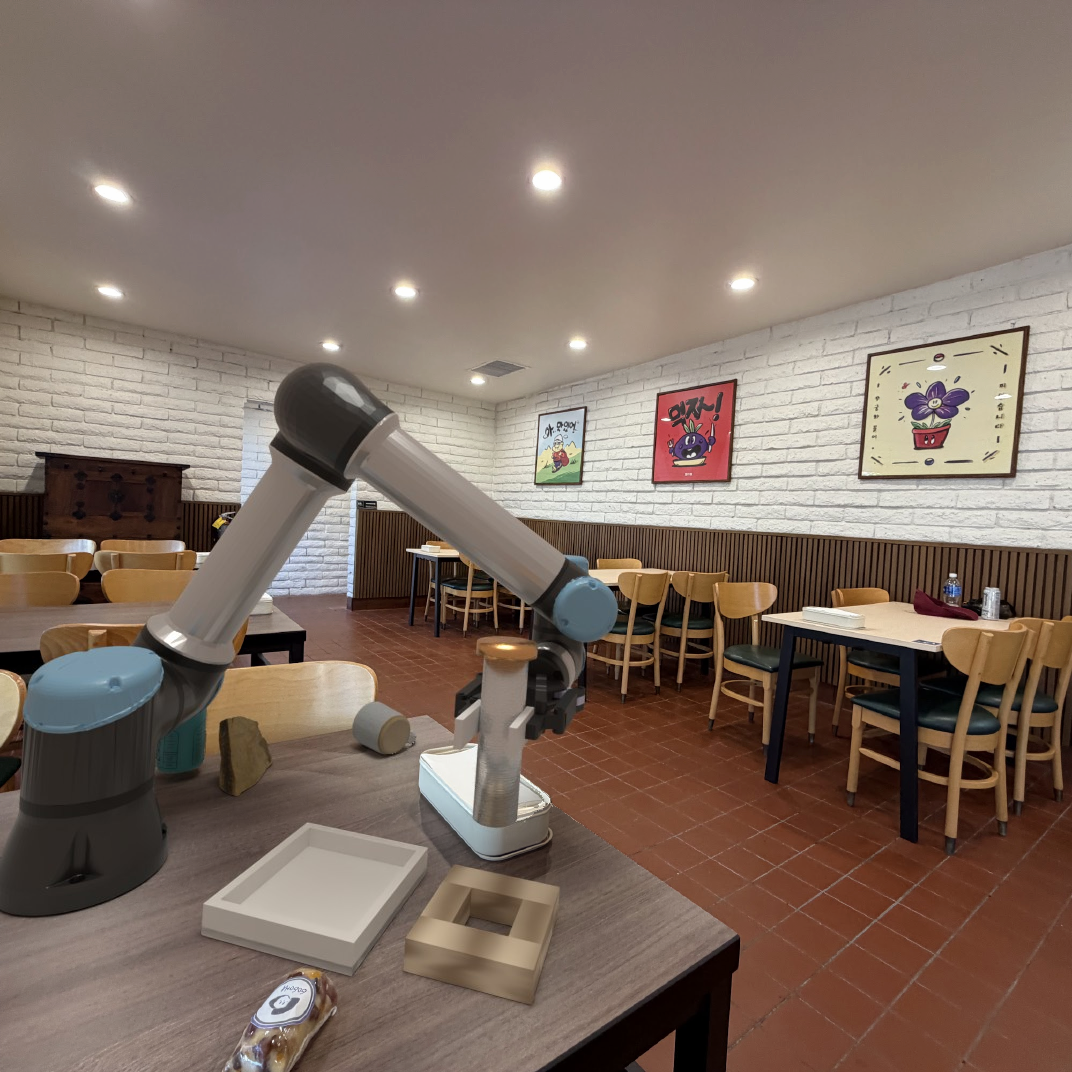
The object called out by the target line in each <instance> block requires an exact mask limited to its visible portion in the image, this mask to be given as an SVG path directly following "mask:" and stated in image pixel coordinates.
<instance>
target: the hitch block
mask: <svg viewBox="0 0 1072 1072" xmlns="http://www.w3.org/2000/svg"><path fill="white" fill-rule="evenodd" d="M560 888H561V887H560V886H557V885H553V884H547V883H542V882H538V881H533V880H530V879H529V880H528V879H524V878H520V877H514V876H510V875H505V874H501V873H496V872H492V871H488V870H483V869H477V868H473V867H470V866H469V867H468V866H463V865H461V864H460V865H459V864H453V865H452V867H451V869H450V870H449V872H448V873H447V874H446V876H445V878H444V879H443V881H442V882H441V883H440V885H439V886H438V888H437V890H436V891H435V893H434V894H433V896H432V897H431V899H430V900H429V902H428V903H427V905H426V906H425V908H424V909H423V911H422V912H421V914H420V915H419V917H418V918H417V920H416V921H415V923H414V924H413V926H412V927H411V929H410V931H408V933H407V935H406V937H405V941H404V953H403V965H402V966H403V969H402V971H403V972H406V973H410V974H412V975H413V974H414V975H418V976H421V977H425V978H429V979H433V980H437V981H440V982H444V983H447V984H450V985H451V984H452V985H455V986H458V987H463V988H466V989H470V990H473V991H478V992H480V993H485V994H490V995H492V996H495V997H496V996H497V997H500V998H503V999H507V1000H510V1001H515V1002H519V1003H523V1004H526V1005H530V1006H532V1004H533V1001H534V997H535V994H536V991H537V988H538V984H539V980H540V977H541V973H542V969H543V967H544V963H545V959H546V957H547V953H548V950H549V945H550V942H551V940H552V935H553V932H554V931H555V930H554V929H555V926H556V923H557V919H558V915H559V903H560V892H561V891H560ZM470 917H471V918H472V917H473V918H475V919H476V918H477V919H480V920H481V919H482V920H486V921H489V922H493V923H497V924H502V925H506V926H510V927H511V928H510V931H509V934H508V935H504V934H500V933H495V932H492V931H487V930H483V929H479V928H475V927H470V926H466V924H467V921H468V920H469V918H470Z"/></svg>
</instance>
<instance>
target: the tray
mask: <svg viewBox="0 0 1072 1072" xmlns="http://www.w3.org/2000/svg"><path fill="white" fill-rule="evenodd" d="M428 855H429V847H427V846H421V845H417V844H412V843H407V842H402V841H399V840H393V839H390V838H389V839H388V838H383V837H379V836H374V835H369V834H365V833H361V832H355V831H351V830H345V829H341V828H337V827H333V826H332V827H331V826H327V825H322V824H317V823H313V822H306V823H305V824H303V825H302V826H301V827H299V828H298V829H297V830H296V831H294V832H293V833H292V834H291V835H289V836H288V837H287V838H285V839H284V840H283V841H282V842H281V843H279V844H278V845H276V846H275V847H273V849H271V850H269V852H267V853H266V854H265V855H264V856H262V857H261V858H260V859H258V860H257V861H256V862H255V863H254V864H252V865H251V866H249V867H248V868H247V869H245V871H243V872H242V873H240V874H239V875H238V876H236V877H235V878H234V879H233V880H232V881H231V882H229V883H228V884H226V885H225V886H224V887H222V888H221V889H220V890H219V891H218V892H216V893H214V895H213V896H211V897H210V898H209V899H207V900H206V901H205V902H203V904H202V914H201V915H202V917H201V931H200V935H201V936H203V937H206V938H211V939H213V940H218V941H222V942H226V943H228V944H232V945H236V946H241V947H242V948H247V949H251V950H254V951H257V952H262V953H265V954H269V955H272V956H276V957H279V958H283V959H287V960H290V961H294V962H297V963H301V964H305V965H308V966H312V967H316V968H320V969H323V970H327V971H329V972H334V973H337V974H341V975H345V976H348V977H353V975H354V974H355V973H356V971H357V970H358V969H359V967H360V965H361V964H362V963H363V962H364V960H365V959H366V957H367V956H368V955H369V953H370V952H371V951H372V950H373V947H374V946H375V945H376V943H377V942H378V941H379V940H380V938H381V936H382V935H383V934H384V932H385V931H386V930H387V929H388V927H389V926H390V925H391V922H393V920H394V919H395V918H396V916H397V914H398V913H399V912H400V911H401V909H402V908H403V906H404V905H405V904H406V903H407V901H408V899H409V898H410V896H412V895H413V892H414V891H415V890H416V888H417V887H418V885H419V884H420V883H421V881H422V880H423V879H424V877H425V876H426V875H427V872H428Z"/></svg>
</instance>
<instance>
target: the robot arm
mask: <svg viewBox="0 0 1072 1072" xmlns="http://www.w3.org/2000/svg"><path fill="white" fill-rule="evenodd" d="M273 415H274V419H275V423H276V425H277V427H278V429H279V430H278V432H277V433H276V434H275V436H274V437H273V439H272V440H271V441H270V443H269V445H268V450H269V454H270V457H271V464H270V465H269V467H268V468H267V469H266V471H265V472H264V474H263V475H262V476H261V478H260V479H259V481H258V482H257V484H256V485H255V487H254V488H253V489H252V491H251V492H250V494H249V496H247V498H246V500H245V501H244V502H243V504H242V505H241V506H240V509H239V510H238V511H237V513H236V515H235V516H233V519H231V521H230V523H229V524H228V526H227V527H226V529H225V530H224V532H223V533H222V534H221V536H220V537H219V539H218V540H217V542H215V544H214V546H213V548H212V549H211V550H210V552H209V553H208V555H207V556H206V558H205V559H204V561H203V562H202V564H201V565H200V566H199V568H198V569H197V571H196V572H195V574H194V575H193V577H192V578H191V579H190V581H189V582H188V584H187V586H186V587H185V588H184V589H183V590H182V592H181V594H180V596H178V599H177V600H176V601H175V603H174V604H173V606H172V607H171V609H170V610H168V611H167V612H166V611H165V612H162V613H159V614H154V615H152V616H150V617H149V618H148V620H147V621H146V623H145V624H144V625H143V627H142V628H141V630H140V631H139V633H137V636H136V637H135V638H134V640H133V641H132V642H131V644H130V645H128V646H127V645H124V646H123V645H116V646H115V645H113V646H103V647H102V646H101V647H94V648H90V649H89V650H87V651H75V652H71V653H68V654H67V653H66V654H64V655H62V656H58V657H55V658H54V659H51V660H50V661H48V662H46V663H44V664H43V665H41V666H39V668H38V669H37V670H36V671H34V673H33V674H32V676H31V677H30V679H29V682H28V685H27V692H26V698H25V699H24V702H23V705H22V716H23V735H22V738H23V739H22V752H21V753H22V755H21V771H20V787H19V804H18V805H19V806H18V813H17V817H16V820H15V822H14V824H13V826H12V829H11V830H10V833H9V835H8V838H7V839H6V842H5V845H4V847H3V849H2V853H1V855H0V911H2V912H4V913H8V914H10V915H11V914H12V915H18V916H31V917H32V916H33V917H34V916H47V915H48V916H49V915H55V914H57V915H58V914H62V913H67V912H73V911H77V910H80V909H85V908H89V907H91V906H95V905H97V904H100V903H103V902H106V901H109V900H111V899H113V898H116V897H118V896H121V895H122V894H124V893H127V892H129V891H130V890H133V889H134V888H136V887H137V886H139V885H140V884H143V883H144V882H145V881H147V880H148V879H149V878H150V877H152V876H153V875H154V874H155V873H156V872H157V871H159V870H160V868H161V867H162V866H163V865H164V863H165V862H166V859H167V857H168V854H169V838H170V837H169V829H168V826H167V824H166V823H165V819H164V816H163V812H162V809H161V806H160V803H159V800H158V798H157V794H156V792H155V791H156V790H155V774H156V751H157V742H159V741H160V740H161V739H163V738H164V737H166V736H167V735H168V734H170V733H171V732H172V731H174V730H175V729H177V728H178V727H179V726H181V725H182V724H184V723H185V722H186V721H188V720H190V719H192V718H194V717H196V716H197V715H198V714H200V713H201V711H204V710H205V709H206V708H207V709H208V707H209V706H210V704H212V703H213V701H214V700H215V698H216V697H217V695H218V694H219V692H220V691H221V689H222V686H223V684H224V681H225V680H224V679H225V676H226V671H228V668H229V667H230V665H231V664H232V663H233V661H234V660H235V657H236V650H235V648H234V644H233V641H234V639H235V638H236V636H237V634H238V633H239V631H240V630H241V629H242V627H243V625H244V624H245V623H246V621H247V620H248V618H249V617H250V615H251V614H252V612H253V611H254V610H255V608H256V606H257V605H258V603H259V602H260V601H261V599H262V597H263V596H264V595H265V593H266V592H267V590H268V588H269V587H270V586H271V584H272V583H273V582H274V580H275V578H276V577H277V575H278V574H279V573H280V571H281V570H282V568H283V567H284V565H285V564H286V562H287V560H288V559H289V558H290V557H291V555H292V553H293V552H294V551H295V549H296V548H297V546H298V544H299V543H300V541H302V539H303V537H304V535H305V534H306V533H307V532H308V530H309V528H310V527H311V526H312V524H313V523H314V521H315V519H316V518H317V517H318V516H319V514H320V512H321V511H322V509H323V508H324V507H325V505H326V503H327V502H328V501H329V499H330V498H332V497H336V496H341V495H345V494H347V492H348V491H349V489H350V488H351V487H352V485H353V484H354V483H355V481H356V480H357V479H359V480H360V479H361V480H362V481H364V482H365V483H366V484H368V485H369V486H370V487H371V488H373V489H374V490H376V491H377V492H378V493H380V494H381V495H382V496H383V497H385V499H388V500H389V501H390V502H391V503H393V504H394V505H395V506H397V507H398V508H399V509H401V510H402V511H403V512H405V513H406V514H408V515H409V516H410V517H411V518H413V519H414V520H416V522H418V523H419V524H421V525H422V526H424V528H426V529H427V530H429V531H430V532H431V533H433V534H434V535H435V536H436V537H437V538H439V539H441V540H442V541H443V542H445V543H446V544H447V545H449V547H451V548H452V549H453V550H455V551H456V552H457V553H459V554H460V555H462V556H463V557H465V558H466V559H467V560H469V561H470V562H471V563H472V564H473V565H475V566H476V567H477V568H479V569H480V570H481V571H483V572H484V573H486V574H487V575H489V576H490V577H491V579H493V580H495V581H496V582H498V583H499V584H500V585H502V586H503V587H504V588H506V589H507V590H508V591H510V592H511V593H512V594H513V595H515V596H516V597H518V598H519V600H521V601H522V602H524V603H526V604H527V606H529V607H531V609H533V610H534V611H533V612H534V613H533V624H532V635H531V636H532V637H531V640H532V641H534V642H536V643H538V651H537V658H536V659H534V660H531V661H529V663H528V677H527V691H526V704H525V710H524V711H522V713H521V714H520V715H519V716H518V717H517V718H516V720H515V721H514V722H513V723H512V724H511V725H510V727H509V734H508V748H507V758H512V759H515V758H516V757H517V755H518V754H519V753H520V751H521V750H522V751H523V749H524V747H525V745H526V744H527V742H528V741H537V740H538V739H539V738H540V737H541V735H542V734H545V733H546V730H551V732H552V733H553V734H555V735H559V736H560V735H563V734H565V732H566V730H567V729H568V727H569V725H570V724H571V722H572V721H573V719H574V717H575V715H576V714H577V713H579V712H582V711H584V709H585V700H586V699H585V698H586V687H584V686H582V685H578V686H574V687H572V685H573V684H574V682H575V681H576V680H577V679H578V678H579V677H580V675H581V674H582V671H584V668H585V662H586V649H585V646H584V643H592V642H595V641H599V640H601V639H602V638H604V637H605V636H607V635H608V633H610V632H611V631H612V629H613V627H614V626H615V623H616V621H617V618H618V611H619V606H618V605H619V604H618V602H617V598H616V596H615V594H614V592H613V591H612V590H611V589H610V587H609V586H608V585H606V584H605V582H603V581H602V580H601V579H599V578H597V577H593V576H591V575H590V572H589V570H590V568H589V560H588V559H587V558H586V557H585V556H581V555H570V554H563V553H562V552H561V551H559V550H558V549H557V548H556V547H554V545H552V544H550V543H549V542H548V541H547V540H546V539H544V538H543V537H542V536H540V535H539V534H537V533H536V532H535V531H534V530H533V529H531V528H530V527H528V525H526V524H524V522H522V521H521V520H519V519H518V518H517V517H516V516H515V515H513V514H512V513H511V512H510V511H508V510H507V509H505V508H504V507H503V506H502V505H500V504H499V503H498V502H496V501H495V500H494V499H493V498H492V497H490V496H489V495H488V494H487V493H485V492H483V491H482V490H481V489H480V488H478V486H476V485H474V484H473V483H472V482H471V481H470V480H468V479H467V478H466V477H465V476H463V475H462V474H461V473H459V472H458V471H457V470H455V469H454V468H453V467H451V466H450V465H449V464H448V463H446V461H444V460H442V458H440V457H439V456H437V455H436V454H435V453H433V452H432V451H431V450H430V449H429V448H427V447H426V446H425V445H423V444H422V443H421V442H419V441H418V440H417V439H416V438H414V436H412V435H411V434H409V433H408V432H407V431H405V430H404V429H403V428H402V427H401V424H400V423H401V422H400V417H399V415H398V413H397V412H395V411H394V410H392V409H391V408H390V407H389V406H388V405H386V404H385V403H383V401H381V399H379V398H378V396H376V395H375V394H374V393H373V392H372V391H371V390H370V389H369V388H368V387H367V386H366V385H365V384H364V382H363V381H361V379H360V378H358V376H356V374H354V373H353V372H351V371H350V370H348V369H346V368H345V367H342V366H340V365H338V364H334V363H329V362H321V361H320V362H312V363H311V362H310V363H306V364H303V365H301V366H298V367H296V368H295V369H293V370H292V371H291V372H289V373H288V374H287V375H286V376H285V377H284V378H283V379H282V380H281V382H280V384H279V385H278V387H277V390H276V392H275V395H274V400H273ZM482 679H483V671H481V672H477V673H475V678H474V679H473V680H471V681H470V682H469V683H467V684H466V685H465V686H463V687H462V688H460V690H458V691H457V692H456V693H455V700H454V715H453V717H454V732H453V745H452V746H453V747H452V749H453V750H460V751H461V750H462V749H464V747H465V746H466V745H468V744H469V742H471V740H473V739H474V737H475V736H476V735H478V734H479V720H480V706H481V692H482Z"/></svg>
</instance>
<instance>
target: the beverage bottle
mask: <svg viewBox="0 0 1072 1072" xmlns="http://www.w3.org/2000/svg"><path fill="white" fill-rule="evenodd" d="M208 715H209V714H208V707H207V708H206V709H205V710H204V711H201V713H200V714H198V715H197V716H196V717H194V718H192V719H190V720H188V721H186V722H185V723H184V724H182V725H181V726H179V727H178V728H177V729H175V730H174V731H172V732H171V733H170V734H168V735H167V736H166V737H164V738H163V739H161V740H160V741H159V742H157V751H156V765H155V768H156V770H157V771H158V772H160V773H164V774H180V773H186V772H189V771H193V770H195V769H197V768H199V767H201V766H202V765H203V763H204V760H205V757H206V752H207V744H206V742H207V734H208V733H207V728H208V726H207V720H208Z"/></svg>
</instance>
